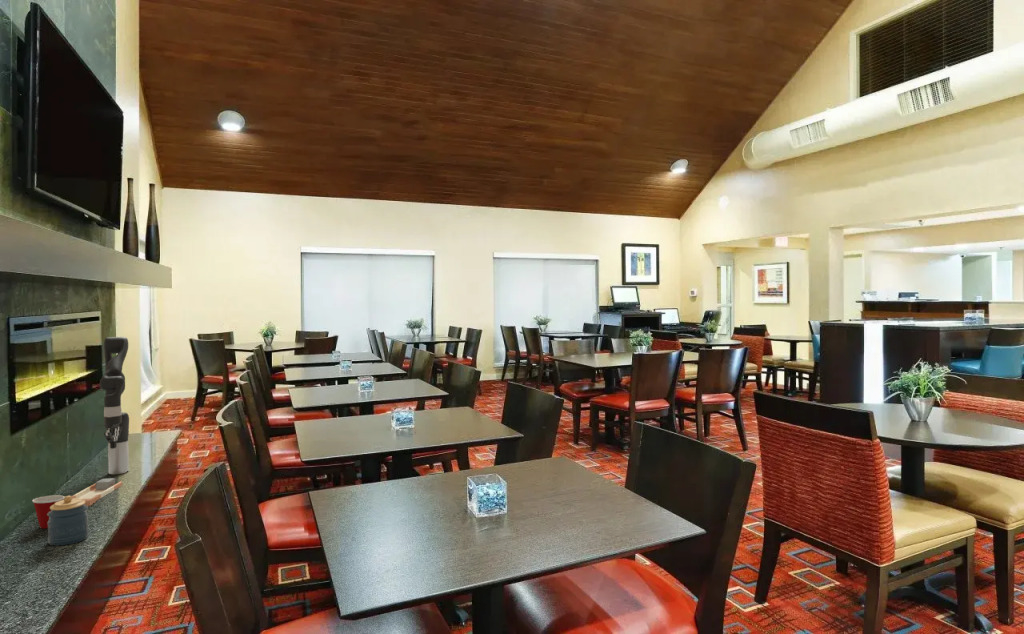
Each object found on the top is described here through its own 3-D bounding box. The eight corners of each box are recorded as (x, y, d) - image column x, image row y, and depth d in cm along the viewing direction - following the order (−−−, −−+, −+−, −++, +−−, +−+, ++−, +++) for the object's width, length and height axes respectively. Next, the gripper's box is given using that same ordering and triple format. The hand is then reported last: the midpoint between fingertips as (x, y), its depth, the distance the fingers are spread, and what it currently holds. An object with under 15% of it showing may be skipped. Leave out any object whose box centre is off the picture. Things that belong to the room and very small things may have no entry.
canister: (65, 533, 239) (64, 490, 238) (96, 533, 238) (95, 490, 238) (39, 546, 226) (38, 501, 225) (71, 546, 225) (70, 501, 225)
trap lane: (97, 487, 297) (97, 482, 297) (122, 486, 299) (122, 481, 299) (61, 507, 269) (61, 501, 269) (89, 505, 270) (89, 500, 270)
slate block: (102, 486, 297) (102, 478, 297) (115, 485, 298) (115, 478, 298) (95, 490, 291) (95, 482, 291) (108, 489, 292) (108, 481, 292)
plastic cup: (71, 523, 249) (70, 495, 249) (41, 532, 239) (41, 503, 239) (56, 519, 253) (55, 492, 253) (27, 528, 244) (26, 499, 243)
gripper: (111, 412, 307) (112, 445, 308) (97, 417, 294) (98, 451, 295) (127, 412, 309) (127, 444, 309) (113, 417, 295) (114, 451, 296)
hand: (113, 448), depth 302 cm, fingers closed
